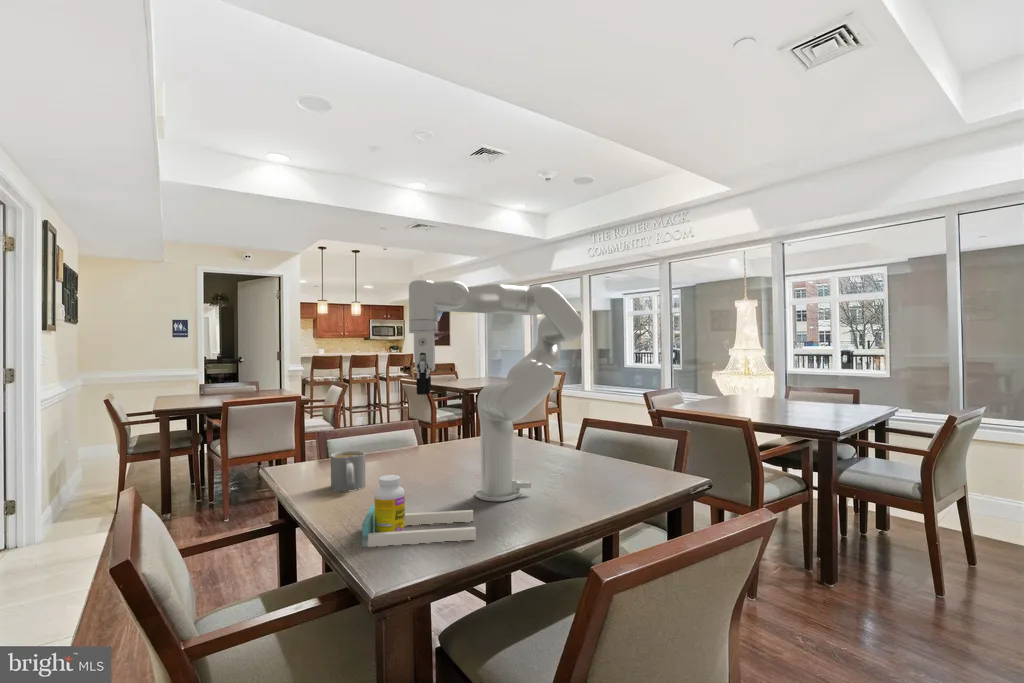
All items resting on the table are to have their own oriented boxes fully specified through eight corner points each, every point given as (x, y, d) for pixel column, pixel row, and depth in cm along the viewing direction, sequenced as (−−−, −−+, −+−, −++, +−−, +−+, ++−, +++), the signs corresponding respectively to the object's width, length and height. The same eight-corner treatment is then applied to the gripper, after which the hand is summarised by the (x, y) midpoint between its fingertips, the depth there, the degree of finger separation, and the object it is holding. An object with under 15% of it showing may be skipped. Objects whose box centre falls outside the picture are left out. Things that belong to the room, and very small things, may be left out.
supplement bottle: (397, 541, 105) (396, 482, 105) (369, 539, 106) (368, 480, 107) (409, 530, 112) (409, 474, 112) (383, 528, 113) (382, 473, 113)
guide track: (472, 520, 118) (472, 499, 118) (475, 540, 105) (475, 517, 105) (371, 526, 114) (371, 504, 114) (362, 547, 102) (362, 523, 102)
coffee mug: (334, 483, 151) (334, 451, 151) (367, 481, 153) (367, 449, 153) (325, 496, 138) (325, 461, 138) (361, 494, 140) (361, 459, 140)
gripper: (437, 326, 119) (437, 395, 119) (438, 328, 136) (439, 389, 136) (406, 326, 118) (406, 396, 118) (411, 329, 135) (411, 390, 135)
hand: (424, 392), depth 127 cm, fingers open, 9 cm apart
